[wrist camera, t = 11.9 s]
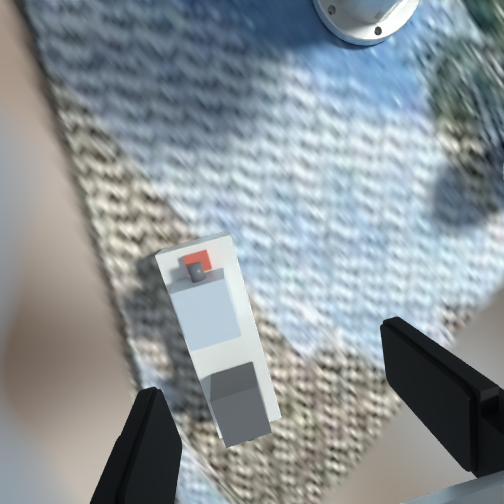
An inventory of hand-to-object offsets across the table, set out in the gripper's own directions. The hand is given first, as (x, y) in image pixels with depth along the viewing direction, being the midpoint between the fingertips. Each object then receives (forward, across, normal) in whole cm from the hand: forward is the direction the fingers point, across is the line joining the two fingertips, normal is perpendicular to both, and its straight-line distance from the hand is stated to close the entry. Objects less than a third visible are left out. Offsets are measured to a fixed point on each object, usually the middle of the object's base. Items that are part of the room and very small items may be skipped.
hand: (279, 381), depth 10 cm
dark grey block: (+21, +4, +15) cm, 26 cm away
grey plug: (+21, +5, +3) cm, 22 cm away
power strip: (+21, +4, +9) cm, 23 cm away
